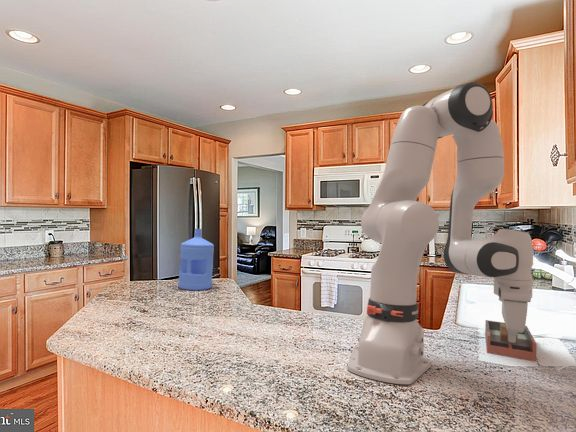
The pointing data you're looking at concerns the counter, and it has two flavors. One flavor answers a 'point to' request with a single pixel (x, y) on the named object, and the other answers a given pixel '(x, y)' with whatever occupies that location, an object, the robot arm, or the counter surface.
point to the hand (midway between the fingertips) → (511, 340)
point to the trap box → (509, 343)
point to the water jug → (196, 263)
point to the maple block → (505, 333)
